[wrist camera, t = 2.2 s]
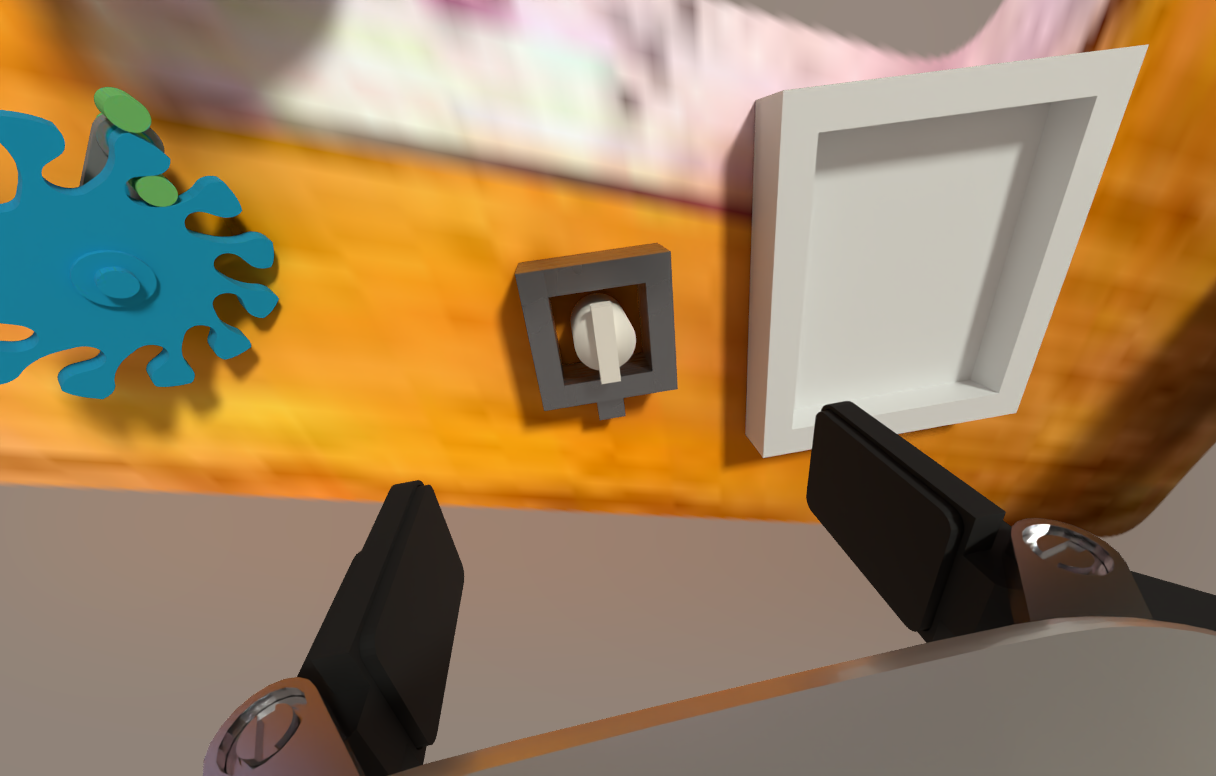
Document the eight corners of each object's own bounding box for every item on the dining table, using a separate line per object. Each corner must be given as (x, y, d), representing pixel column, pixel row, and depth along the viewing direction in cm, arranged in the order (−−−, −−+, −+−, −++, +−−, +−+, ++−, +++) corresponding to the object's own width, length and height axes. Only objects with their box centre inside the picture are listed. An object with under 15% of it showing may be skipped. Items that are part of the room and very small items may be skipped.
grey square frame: (657, 243, 21) (670, 251, 19) (666, 393, 25) (678, 416, 23) (518, 263, 21) (514, 274, 18) (549, 412, 25) (549, 437, 22)
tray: (1081, 58, 20) (1148, 44, 18) (978, 393, 28) (1016, 412, 26) (755, 100, 19) (783, 90, 17) (745, 434, 27) (763, 457, 25)
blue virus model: (250, 407, 21) (-190, 407, 12) (207, 350, 23) (-180, 315, 14) (324, 183, 18) (-155, -25, 10) (267, 147, 21) (-151, -42, 12)
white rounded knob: (620, 281, 22) (634, 301, 18) (627, 347, 23) (641, 377, 20) (565, 289, 22) (568, 311, 18) (576, 355, 23) (581, 387, 20)
